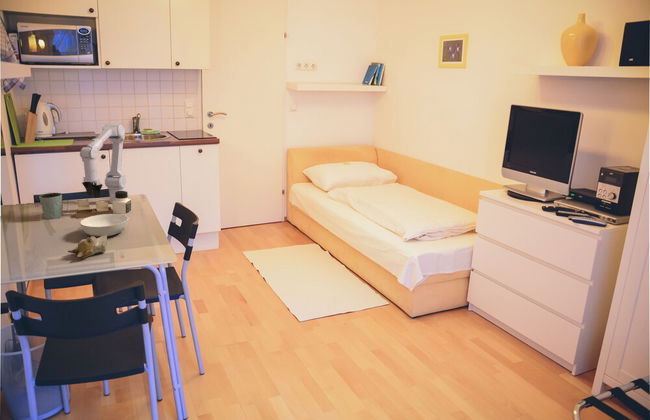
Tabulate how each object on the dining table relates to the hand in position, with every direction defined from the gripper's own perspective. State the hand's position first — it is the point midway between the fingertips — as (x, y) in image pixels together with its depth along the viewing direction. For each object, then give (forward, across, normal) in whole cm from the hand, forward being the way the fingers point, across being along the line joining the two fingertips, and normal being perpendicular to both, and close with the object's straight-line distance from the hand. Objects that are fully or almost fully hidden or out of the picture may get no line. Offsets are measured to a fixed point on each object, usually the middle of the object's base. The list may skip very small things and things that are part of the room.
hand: (93, 196), depth 268 cm
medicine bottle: (+10, +9, +10) cm, 17 cm away
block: (+9, +5, +2) cm, 10 cm away
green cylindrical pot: (+10, -8, -18) cm, 22 cm away
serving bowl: (+10, +34, -12) cm, 37 cm away
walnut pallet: (+10, +3, -2) cm, 10 cm away
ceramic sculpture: (+10, +55, -29) cm, 63 cm away
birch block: (+9, -7, -3) cm, 12 cm away
